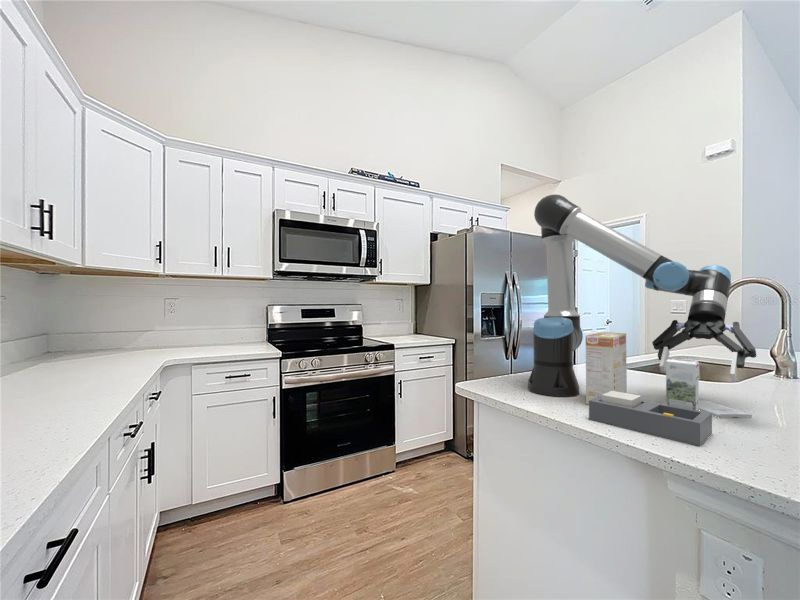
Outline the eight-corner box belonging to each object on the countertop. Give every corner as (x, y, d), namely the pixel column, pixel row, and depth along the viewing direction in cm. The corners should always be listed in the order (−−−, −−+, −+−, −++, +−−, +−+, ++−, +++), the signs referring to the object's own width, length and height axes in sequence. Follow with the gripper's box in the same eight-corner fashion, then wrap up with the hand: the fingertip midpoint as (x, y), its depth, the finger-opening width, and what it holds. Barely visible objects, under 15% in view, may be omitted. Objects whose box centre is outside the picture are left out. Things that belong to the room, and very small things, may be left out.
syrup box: (699, 420, 85) (699, 360, 86) (696, 426, 81) (695, 362, 81) (670, 414, 89) (669, 357, 90) (665, 420, 85) (665, 360, 85)
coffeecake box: (601, 394, 109) (601, 331, 109) (628, 399, 104) (627, 333, 104) (584, 404, 99) (584, 334, 99) (613, 410, 93) (613, 336, 94)
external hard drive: (708, 406, 99) (752, 420, 87) (679, 405, 99) (718, 420, 87) (708, 400, 99) (752, 413, 87) (679, 400, 99) (718, 413, 87)
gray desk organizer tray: (588, 419, 86) (588, 394, 86) (606, 410, 93) (606, 387, 93) (700, 446, 70) (700, 415, 70) (712, 433, 76) (711, 406, 76)
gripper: (774, 321, 89) (769, 391, 79) (656, 318, 108) (640, 374, 98) (772, 300, 86) (766, 371, 76) (650, 301, 105) (633, 357, 95)
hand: (695, 373), depth 87 cm, fingers open, 13 cm apart
